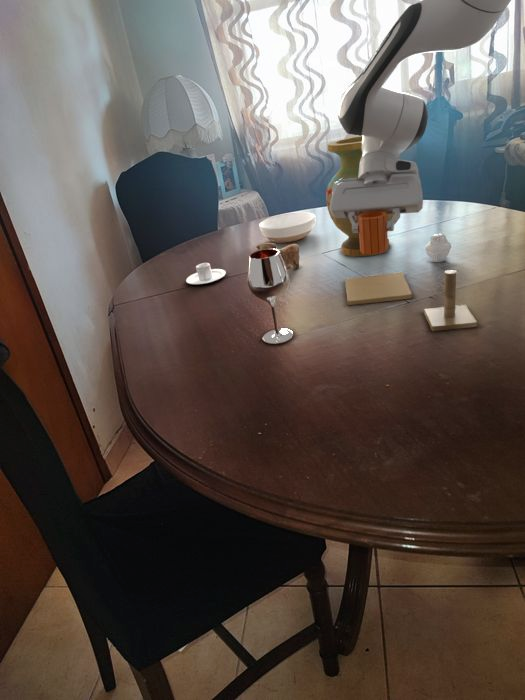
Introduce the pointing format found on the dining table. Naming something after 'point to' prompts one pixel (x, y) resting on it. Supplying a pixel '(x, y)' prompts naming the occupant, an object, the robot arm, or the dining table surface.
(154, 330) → the dining table surface
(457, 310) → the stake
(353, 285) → the cork mat
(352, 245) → the vase
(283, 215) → the bowl
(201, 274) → the candle holder
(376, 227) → the orange ring
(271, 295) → the wineglass
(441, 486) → the dining table surface
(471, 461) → the dining table surface
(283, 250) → the figurine
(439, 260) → the muffin
